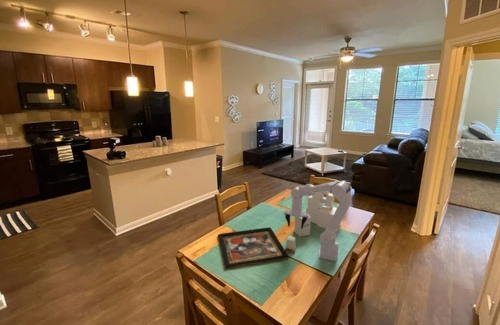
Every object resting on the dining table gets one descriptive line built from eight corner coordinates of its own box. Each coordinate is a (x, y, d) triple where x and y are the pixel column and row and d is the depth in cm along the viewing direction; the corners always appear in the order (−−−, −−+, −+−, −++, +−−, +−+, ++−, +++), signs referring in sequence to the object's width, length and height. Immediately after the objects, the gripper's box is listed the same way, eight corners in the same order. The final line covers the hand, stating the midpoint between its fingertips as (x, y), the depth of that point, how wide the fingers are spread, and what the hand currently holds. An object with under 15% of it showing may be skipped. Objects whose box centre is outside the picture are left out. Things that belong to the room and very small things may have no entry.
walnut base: (295, 248, 144) (296, 244, 143) (294, 254, 138) (294, 250, 138) (286, 246, 145) (286, 243, 144) (284, 252, 140) (285, 248, 139)
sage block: (295, 245, 142) (295, 237, 140) (293, 249, 138) (293, 241, 137) (288, 243, 144) (288, 235, 142) (286, 247, 140) (286, 239, 139)
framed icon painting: (267, 226, 167) (267, 223, 166) (294, 258, 135) (294, 254, 134) (212, 238, 154) (212, 234, 153) (227, 276, 122) (227, 271, 121)
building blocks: (340, 224, 169) (344, 191, 162) (333, 231, 161) (337, 196, 154) (311, 215, 183) (314, 183, 176) (304, 220, 174) (306, 188, 167)
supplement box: (300, 237, 154) (301, 219, 150) (293, 231, 161) (294, 213, 157) (310, 234, 157) (311, 217, 153) (303, 229, 163) (304, 212, 160)
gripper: (310, 205, 144) (308, 225, 148) (285, 201, 149) (284, 221, 153) (308, 210, 138) (307, 231, 142) (283, 206, 143) (282, 227, 146)
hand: (295, 227), depth 147 cm, fingers open, 7 cm apart
